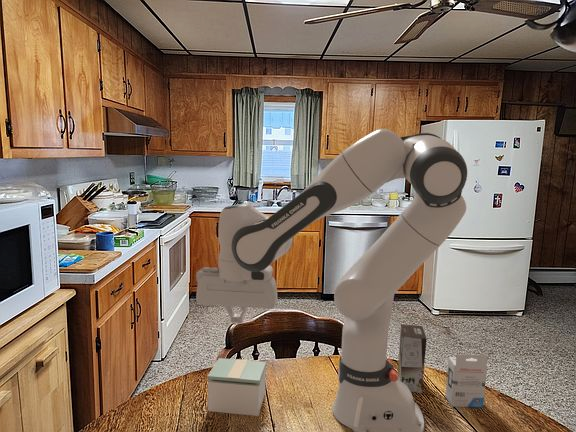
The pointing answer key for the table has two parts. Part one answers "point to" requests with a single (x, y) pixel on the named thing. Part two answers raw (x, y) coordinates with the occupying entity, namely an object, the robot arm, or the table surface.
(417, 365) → the coffee box
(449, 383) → the ink box
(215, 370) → the box lid
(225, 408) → the storage box
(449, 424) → the table surface
